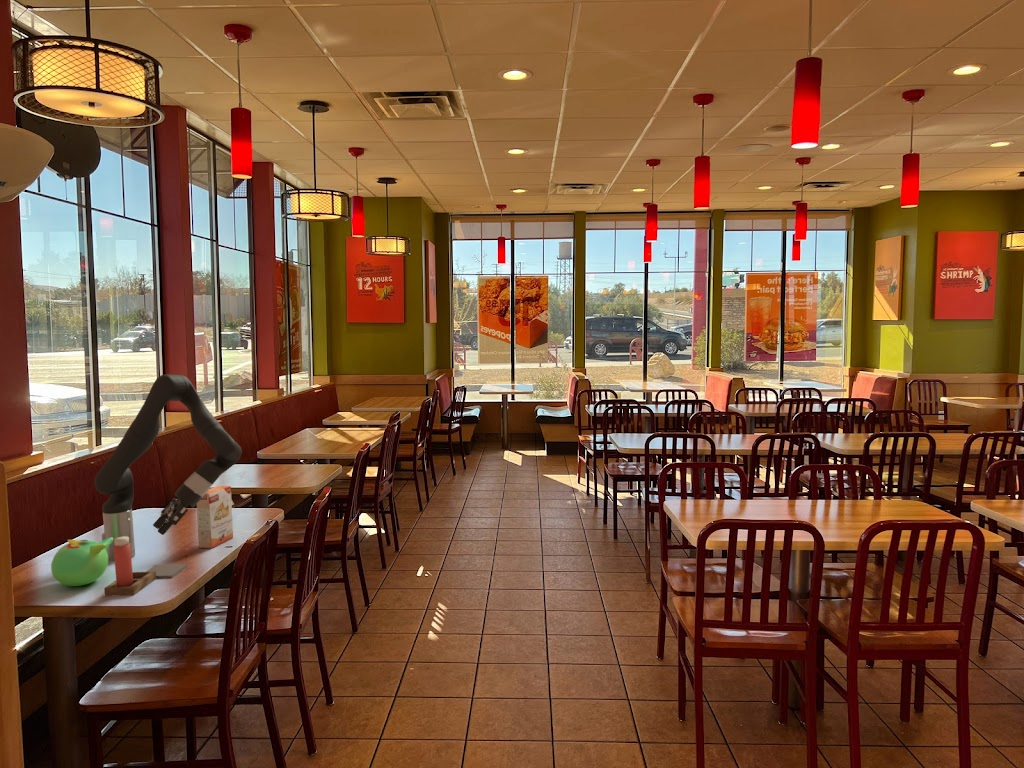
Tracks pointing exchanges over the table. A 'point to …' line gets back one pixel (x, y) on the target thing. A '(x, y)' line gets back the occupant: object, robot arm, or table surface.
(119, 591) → the caddy
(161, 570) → the slate tile
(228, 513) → the cracker box
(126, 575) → the pepper mill
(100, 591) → the table surface
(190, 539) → the table surface
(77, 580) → the toy bird
